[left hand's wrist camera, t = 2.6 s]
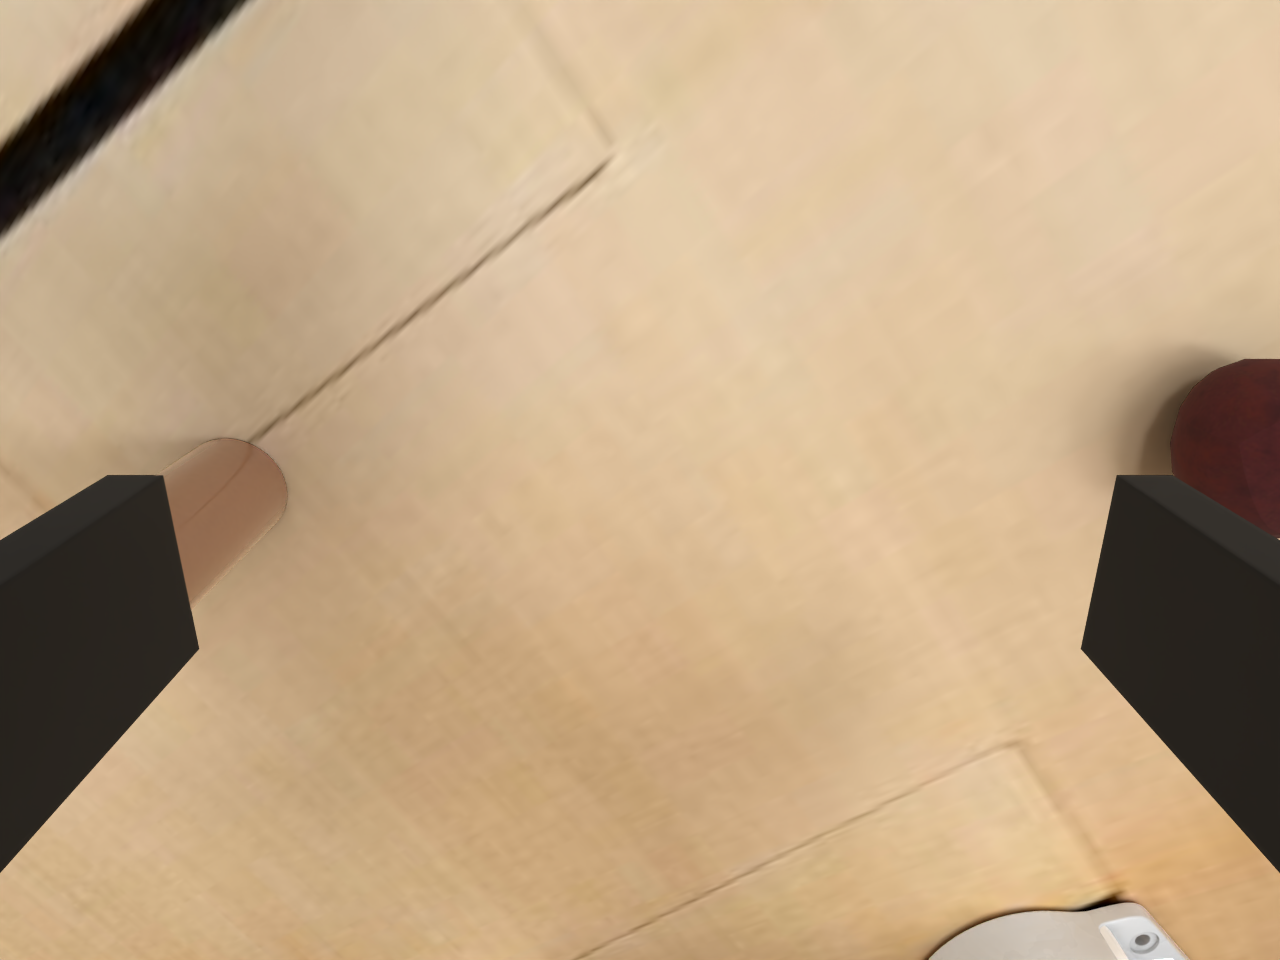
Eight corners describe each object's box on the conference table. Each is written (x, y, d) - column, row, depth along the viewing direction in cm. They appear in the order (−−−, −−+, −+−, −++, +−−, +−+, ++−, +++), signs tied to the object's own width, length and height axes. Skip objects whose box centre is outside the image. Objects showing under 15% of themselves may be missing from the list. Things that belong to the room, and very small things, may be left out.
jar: (281, 439, 41) (77, 602, 26) (293, 537, 43) (108, 742, 28) (174, 436, 41) (-93, 598, 26) (190, 534, 43) (-51, 738, 28)
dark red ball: (1173, 525, 42) (1271, 594, 36) (1110, 397, 40) (1202, 445, 33) (1321, 445, 41) (1452, 502, 34) (1265, 308, 39) (1394, 340, 32)
